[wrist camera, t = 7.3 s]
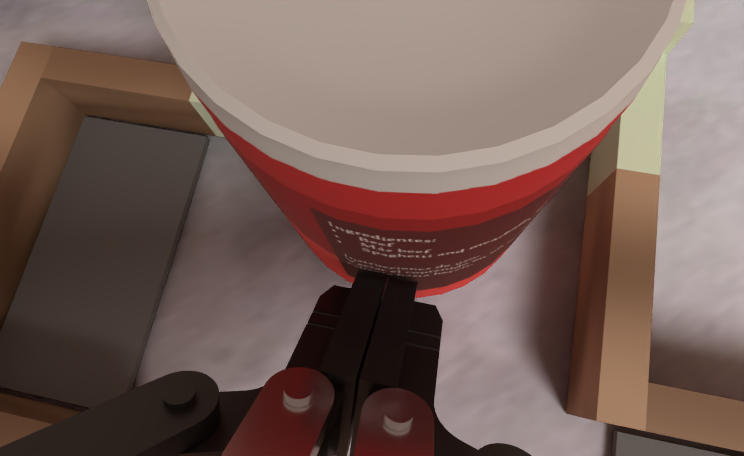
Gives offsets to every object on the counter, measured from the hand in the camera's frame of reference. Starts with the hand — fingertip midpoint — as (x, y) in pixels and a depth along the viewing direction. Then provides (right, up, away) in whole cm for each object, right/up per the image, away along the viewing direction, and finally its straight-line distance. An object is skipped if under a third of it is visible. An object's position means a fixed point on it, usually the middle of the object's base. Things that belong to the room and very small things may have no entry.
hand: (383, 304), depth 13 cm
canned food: (+1, +3, +5) cm, 6 cm away
